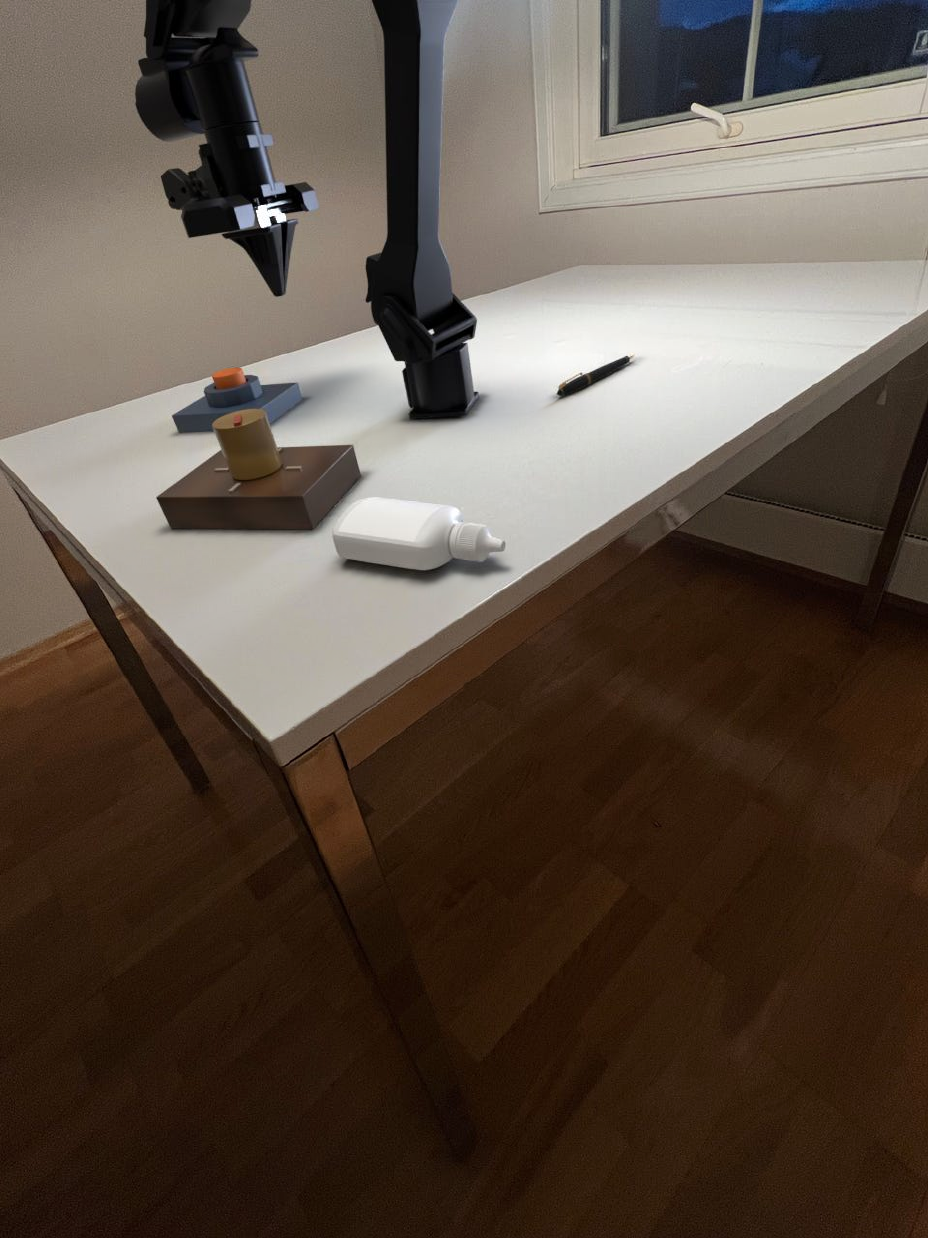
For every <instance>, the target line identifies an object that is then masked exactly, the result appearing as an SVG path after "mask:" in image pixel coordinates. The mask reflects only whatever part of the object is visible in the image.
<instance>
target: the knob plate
mask: <svg viewBox="0 0 928 1238" xmlns="http://www.w3.org/2000/svg"><path fill="white" fill-rule="evenodd" d="M277 448H278V451H279V454H280V457H281V460H282V466H281V467H280V468H279V469H278V470H277V471H275V472H273V473H271V474H269V475H267V476H264V477H261V478H257V479H252V480H236V479H234V478H233V477H232V476H231V473H230V471H229V468H228V465H227V463H226V460H225V458H224V455H223V452H222V450H221V449H220V450H218V451H217V452H215V454H213V455H211V456H210V457H209V458H207V459H206V460H205V461H203V462H202V463H201V464H199V465H198V466H196V467H195V468H194V469H192V470H191V471H190V472H188V473H187V474H186V475H184V476H183V477H182V478H180V479H179V480H178V481H176V482H174V484H172V485H171V486H169V487H168V488H167V489H165V490H164V491H162V492H161V493H160V494H157V496H156V498H155V499H156V500H157V501H156V502H157V503H158V505H159V507H160V509H161V511H162V513H163V515H164V517H165V520H166V521H167V524H168V526H169V528H170V529H213V530H215V529H222V530H225V529H227V530H314V529H315V528H316V527H317V526H318V524H319V523H320V522H321V521H322V520H323V519H324V518H325V516H326V515H328V513H329V512H330V511H331V510H332V509H333V508H334V506H335V505H336V504H337V503H338V502H339V501H340V500H341V499H342V497H343V496H344V495H345V494H346V493H347V492H348V491H349V490H350V488H351V487H352V486H353V485H354V484H355V483H356V482H357V480H358V479H359V478H360V477H361V476H362V473H361V469H360V467H359V463H358V458H357V454H356V451H355V447H354V445H353V444H335V445H307V446H304V445H303V446H302V445H301V446H279V447H278V446H277Z"/></svg>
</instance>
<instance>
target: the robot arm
mask: <svg viewBox="0 0 928 1238" xmlns="http://www.w3.org/2000/svg"><path fill="white" fill-rule="evenodd" d="M252 1H253V0H145V21H144V30H143V37H144V38H145V56H146V57H142V58H140V59H138V61H137V64H138V68H139V70H140V73H141V76H140V77H139V78H138V79H137V82H136V85H135V91H134V98H135V103H134V104H135V109H136V111H137V114H138V116H139V118H140V120H141V122H142V123H143V125H144V126H145V128H146V129H147V131H149V132H150V133H151V134H152V135H153V136H154V137H155V138H156V139H159V140H161V141H162V142H167V143H173V142H177V141H181V140H185V139H189V138H192V137H197V136H201V135H204V137H205V141H206V143H202V144H198V148H199V149H198V155H199V159H200V162H201V165H200V166H199V167H197V168H196V169H195V170H190V171H188V172H187V173H186V172H185V171H184V170H183V169H182V168H179V167H176V168H169V169H167V170H165V171H164V172H163V174H161V175H160V179H161V183H162V187H163V191H164V194H165V197H166V199H167V200H168V201H167V203H168V206H169V207H170V208H171V209H172V210H175V211H176V210H177V211H181V214H180V220H181V222H182V224H183V228H184V231H185V233H186V236H187V238H188V239H190V238H198V237H204V236H212V235H217V234H221V236H222V237H223V239H225V240H230V241H232V242H233V243H235V244H236V245H238V246H239V247H241V248H242V249H243V250H244V251H245V252H246V255H248V257H249V258H250V260H251V261H252V262H253V264H254V265H255V268H256V270H257V271H258V272H259V274H260V275H261V278H262V279H263V280H264V282H265V284H266V285H267V286H268V288H269V290H270V292H271V293H272V295H273V296H274V297H276V298H278V297H283V296H285V295H286V293H287V287H288V279H289V278H288V276H289V268H290V260H291V253H292V248H293V244H294V243H293V242H294V237H295V236H294V235H295V232H296V231H295V230H296V226H297V225H298V224H299V219H298V218H291V219H287V216H286V215H287V214H295V213H300V212H305V213H306V212H312V211H316V210H319V209H320V206H319V202H318V198H317V194H316V190H315V189H314V188H313V187H312V186H311V185H310V184H309V183H308V182H307V181H303V182H296V183H292V184H285V183H284V182H285V181H284V180H282V181H277V182H276V178H275V175H274V171H273V166H272V163H271V159H270V156H269V150H268V148H269V147H274V146H275V144H274V139H273V135H272V133H264V132H263V128H262V125H261V122H260V117H259V113H258V109H257V106H256V102H255V98H254V95H253V90H252V87H251V83H250V79H249V76H248V72H247V68H246V63H245V62H248V61H251V60H254V59H257V58H259V55H260V53H259V49H258V47H256V46H255V45H254V44H253V43H251V42H250V41H249V40H247V39H246V38H245V37H244V36H243V35H242V34H241V33H240V31H239V30H238V29H239V28H240V26H241V25H242V24H243V22H244V21H245V20H246V18H247V16H248V15H249V13H250V11H251V8H252V3H253V2H252ZM371 3H372V5H373V8H374V11H375V13H376V16H377V19H378V21H379V24H380V28H381V31H382V37H383V38H382V39H383V72H384V73H383V75H384V80H383V81H384V82H383V83H384V127H385V128H384V132H385V134H384V135H385V176H386V177H385V180H386V181H385V185H386V186H385V187H386V189H385V190H386V228H387V229H386V239H385V242H384V245H383V247H382V249H381V252H378V253H375V254H371V255H368V256H367V257H366V259H365V274H366V279H367V280H366V281H367V293H366V296H365V303H367V304H368V303H370V311H371V312H370V313H371V316H372V320H373V322H374V324H375V325H377V326H378V329H379V330H380V332H381V334H382V336H383V339H384V340H385V343H386V345H387V348H388V349H389V351H390V353H391V355H392V357H393V359H394V361H395V362H403V363H404V366H405V367H404V368H403V369H402V370H401V373H402V379H403V383H404V388H405V393H406V399H407V404H408V407H409V408H410V409H411V410H410V411H409V412H408V418H409V419H428V418H430V419H431V418H447V417H448V418H449V417H451V418H452V417H463V416H466V415H468V413H469V411H470V410H471V408H472V407H473V406H474V404H475V403H476V402H477V400H478V399H479V397H480V392H479V391H475V390H474V381H473V374H472V366H471V360H470V359H471V358H470V351H469V344H468V342H467V341H469V340H470V341H471V340H473V339H474V338H475V337H476V330H477V325H478V318H477V317H476V315H474V313H472V311H471V310H470V308H468V307H467V306H466V305H465V304H464V303H463V301H461V300H460V298H459V297H457V295H455V293H454V292H453V285H452V284H453V283H452V272H451V267H450V263H449V261H448V259H447V256H446V253H445V251H444V249H443V246H442V244H441V241H440V235H439V229H440V228H439V225H440V190H441V159H442V158H441V157H442V128H443V127H442V125H443V97H444V95H443V94H444V92H443V91H444V65H445V63H444V61H445V58H444V57H445V41H446V35H447V32H448V29H449V27H450V24H451V22H452V19H453V16H454V14H455V11H456V8H457V6H458V3H459V0H371ZM431 330H432V331H433V333H431V332H430V331H431Z"/></svg>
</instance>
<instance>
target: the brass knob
mask: <svg viewBox="0 0 928 1238" xmlns="http://www.w3.org/2000/svg"><path fill="white" fill-rule="evenodd" d="M212 427H213V429H214V431H213V432H214V434H215V437H216V440H217V442H218V445H219V447H220V450H222V452H223V455H224V458H225V460H226V463H227V465H228V468H229V471H230V473H231V476H232V477H233V478H234V479H236V480H252V479H257V478H261V477H264V476H267V475H269V474H271V473H273V472H275V471H277V470H278V469H279V468H280V467H281V466H282V460H281V457H280V454H279V451H278V448H277V447H278V446H277V443H276V442H277V441H276V439H275V436H274V434H273V433H274V432H273V430H272V428H271V424H269V421H268V418H267V415H266V412H265V411H264V410H261V409H247V410H241V411H237V412H233V413H230V414H227V415H225V416H222V417H220V418H218V419H217V420H215V421H214V422H213V424H212Z"/></svg>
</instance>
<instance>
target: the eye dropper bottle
mask: <svg viewBox="0 0 928 1238" xmlns="http://www.w3.org/2000/svg"><path fill="white" fill-rule="evenodd" d="M331 537H332V541H333V545H334V547H335V551H336V553H337V555H338V556H339V557H340V558H342V559H347V560H351V561H352V560H354V561H359V562H364V563H370V564H371V563H372V564H378V565H384V566H389V567H390V566H391V567H397V568H403V569H409V570H418V571H429V570H434V569H437V568H439V567H442V566H443V565H446V564H448V562H450V561H451V560H453V559H454V558H455V559H459V560H466V561H471V562H477V563H478V562H479V563H482V562H484V561H486V559H488V557H489V555H490V553H503V552H505V549H506V541H505V540H504V539H500V538H498V537H495V536H492V531H491V529H490V527H489V526H488V525H486V524H480V523H479V524H478V523H471V522H464V518H463V515H462V513H461V511H460V510H459V509H458V508H457V507H455V506H452V505H447V504H439V503H431V502H422V501H413V500H412V501H411V500H406V499H405V500H404V499H395V498H386V497H376V496H375V497H373V496H371V497H365V498H361V499H358V500H356V501H354V502H353V503H352V504H350V505H349V506H348V507H347V508H346V509H345V510H344V511H343V512H342V513H341V514H340V515H339V517H338V519H336V522H335V524H334V525H333V528H332V531H331Z"/></svg>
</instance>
